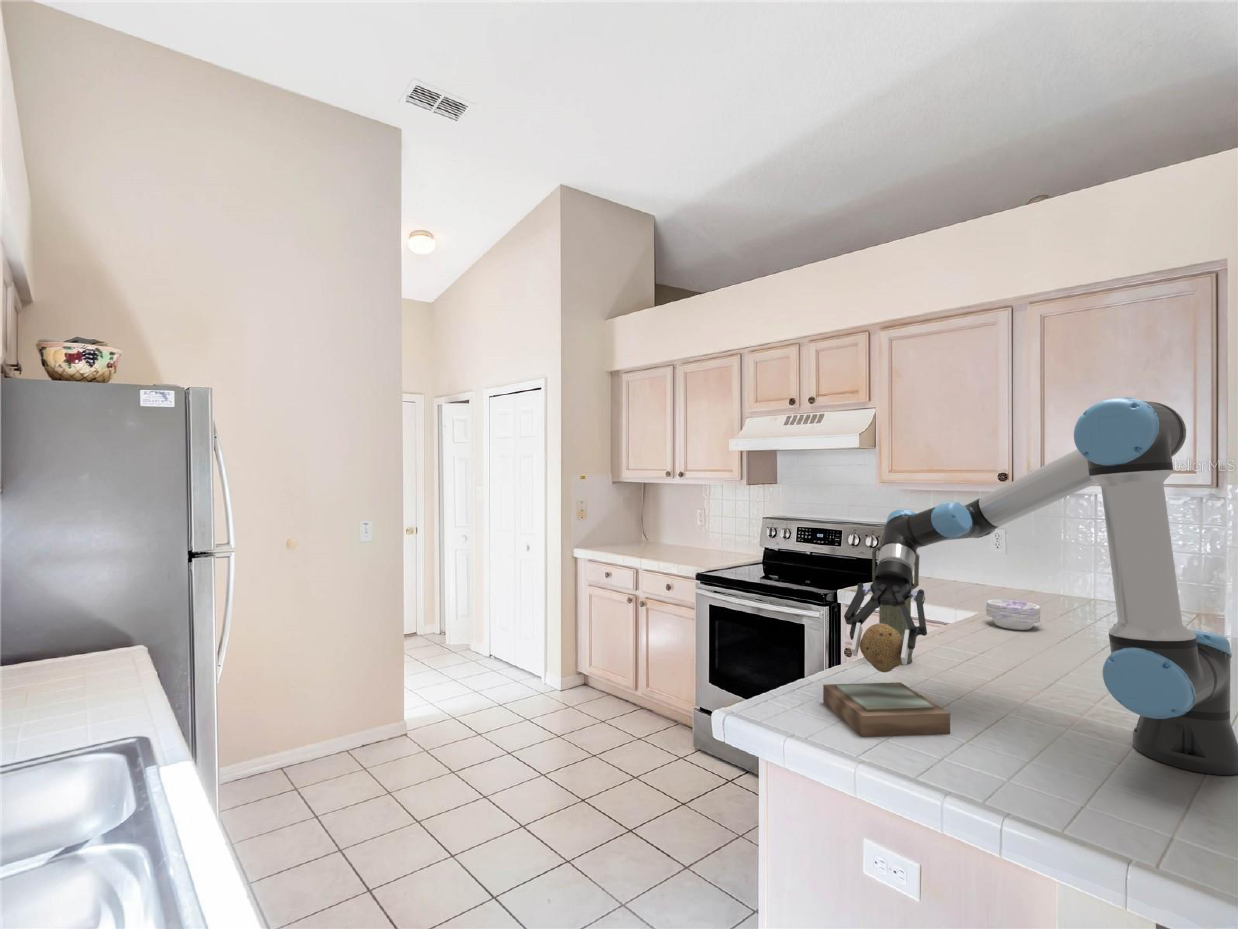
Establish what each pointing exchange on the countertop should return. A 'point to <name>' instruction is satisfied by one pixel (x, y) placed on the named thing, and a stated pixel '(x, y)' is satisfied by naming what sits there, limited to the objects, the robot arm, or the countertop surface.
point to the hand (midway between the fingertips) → (878, 656)
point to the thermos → (893, 614)
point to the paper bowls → (1013, 614)
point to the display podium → (885, 709)
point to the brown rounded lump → (882, 647)
